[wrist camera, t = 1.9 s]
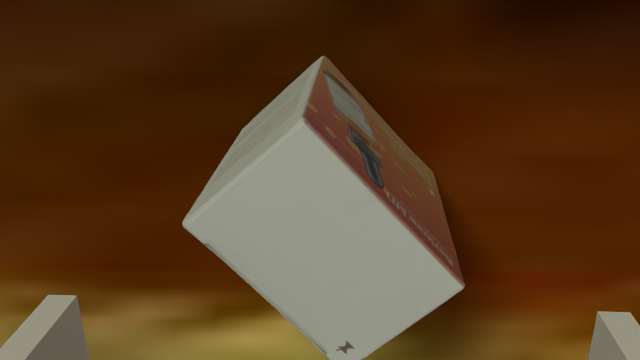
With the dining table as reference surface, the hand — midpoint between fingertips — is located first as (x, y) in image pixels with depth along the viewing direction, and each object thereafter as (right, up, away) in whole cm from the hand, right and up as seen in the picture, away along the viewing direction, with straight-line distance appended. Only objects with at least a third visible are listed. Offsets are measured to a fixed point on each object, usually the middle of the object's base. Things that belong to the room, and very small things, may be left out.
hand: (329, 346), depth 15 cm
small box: (+1, +6, +14) cm, 15 cm away
